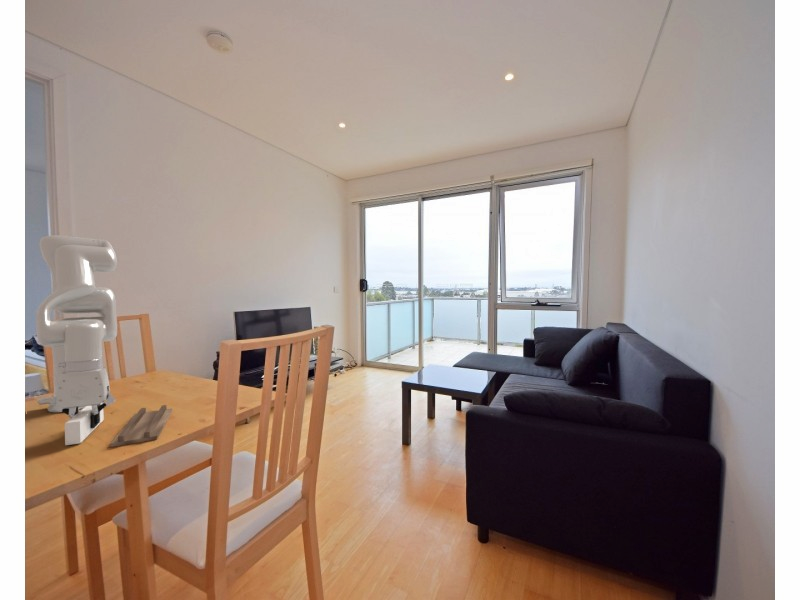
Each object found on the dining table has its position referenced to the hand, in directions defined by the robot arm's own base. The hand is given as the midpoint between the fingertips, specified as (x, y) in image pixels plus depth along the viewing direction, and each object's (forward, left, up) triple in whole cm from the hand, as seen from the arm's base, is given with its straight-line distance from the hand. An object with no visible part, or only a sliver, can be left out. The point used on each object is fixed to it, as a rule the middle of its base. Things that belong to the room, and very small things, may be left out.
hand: (86, 427), depth 91 cm
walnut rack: (+14, -2, -2) cm, 15 cm away
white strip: (0, 0, -1) cm, 1 cm away
